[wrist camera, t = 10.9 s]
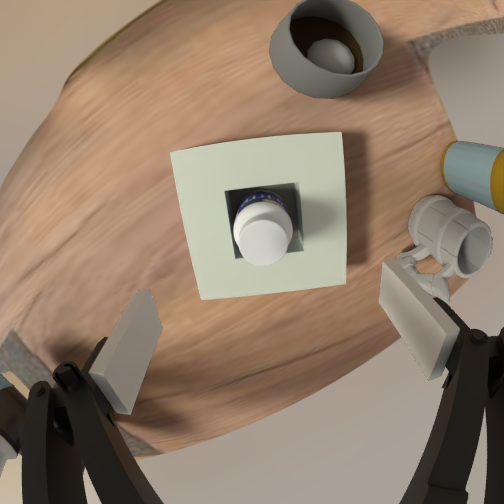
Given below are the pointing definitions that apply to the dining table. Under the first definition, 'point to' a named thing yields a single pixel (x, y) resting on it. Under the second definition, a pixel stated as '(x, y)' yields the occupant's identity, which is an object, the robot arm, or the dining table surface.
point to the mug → (445, 243)
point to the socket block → (283, 184)
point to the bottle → (475, 172)
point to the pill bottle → (262, 228)
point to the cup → (326, 47)
